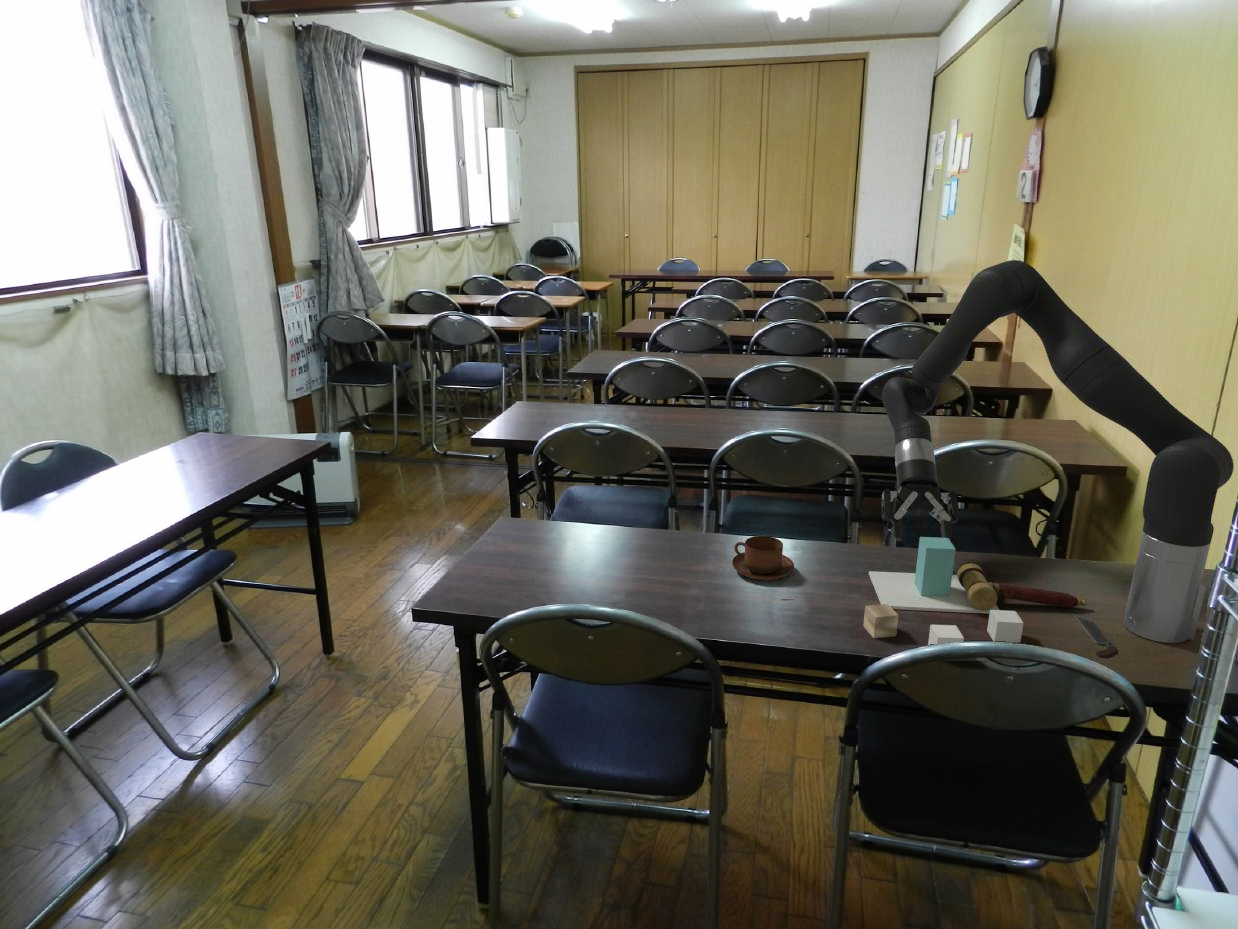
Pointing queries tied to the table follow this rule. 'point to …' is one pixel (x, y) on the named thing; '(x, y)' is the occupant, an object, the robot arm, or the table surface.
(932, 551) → the teal block
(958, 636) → the white cube back
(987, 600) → the gavel
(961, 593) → the white mat
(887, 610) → the birch cube right
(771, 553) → the cup and saucer
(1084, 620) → the knife
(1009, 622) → the grey cube left
